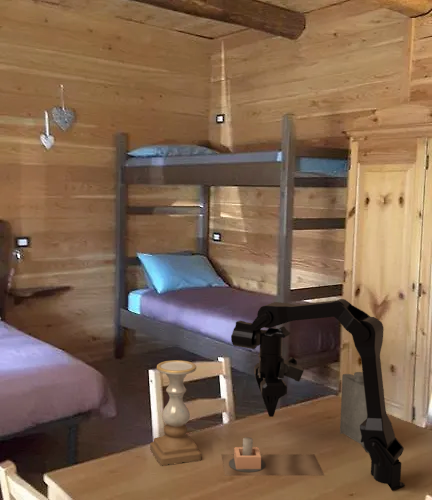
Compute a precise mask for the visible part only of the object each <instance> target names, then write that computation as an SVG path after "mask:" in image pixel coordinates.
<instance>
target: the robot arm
mask: <svg viewBox="0 0 432 500" xmlns="http://www.w3.org/2000/svg"><path fill="white" fill-rule="evenodd" d="M256 314H257V316H256V318H255V319H253V321H252V322H247V321H244V320H238V321H237V320H236V322H235V326H234V328H233V330H232V332H231V333H232V334H231V337H230V341H231V344H232V345H233V346H234V347H239V348H245V349H250V350H251V349H252V350H255V349H257V347H259V352H258V360H259V361H258V363H256V364H255V365H254V367H253V369H254V370H253V373H254V378H255V380H256V383H257V386H258V389H259V392H260V394H261V397H262V400H263V403H264V405H265V409H266V411H267V413H268V417H270V418H271V417H272V418H273V417H274V415H275V412H276V409H277V406H278V402H279V400H280V398H282V397H284V396H286V395H287V394H288V385H287V384H286V382H285V381H284V380H283V379H284V378H285V377H287V378H290V379H292V380H294V381H295V382H300V381H301V378H302V377H303V375H304V374H303V373H304V371H305V370H304V368H303V366H301V365H300V364H297V363H298V361H297V359H296V358H295V357H292V356H289V358H288V359H284V357H283V355H282V352H283V339H284V338H285V339H286V338H287V337H289V336H291V332H290V331H289V330H287V329H286V327H285V326H284V324H287V323H289V322H293V321H294V322H295V321H303V320H304V321H305V320H314V319H327V318H335V319H336V320H337V322H339V323H340V325H341V326H342V327H343V328H344V330H345V331H347V332H348V333H349V334H351V337H352V340H353V343H354V347H355V349H356V351H357V353H358V355H359V357H360V361H361V369H362V370H361V372H363V381H364V390H365V400H366V409H367V419H366V420H365V421H364V422H363V423H362V424H361V425H360V431H361V436H362V437H361V443H362V442H364V447H365V449H366V450H367V451H368V452H369V453H368V454H369V457H370V461H371V462H370V463H371V464H370V475H371V476H372V477H373V479H374V480H375V481H376V482H378V483H381V484H384V485H385V484H386V485H388V487H389V489H390V490H391V491H395V490H397V489H401V488H403V487H405V485H406V484H405V483H404V482H402V481H401V476H402V462H401V461H400V460H399V458H400V457H401V456H402V455H403V452H404V451H405V447H404V446H403V445H402V444H401V443H400V441H399V440H398V439H397V438H396V434H395V431H394V428H393V423H392V422H391V420H390V418H389V416H388V414H387V409H386V400H385V392H384V391H385V390H384V380H383V374H382V373H383V372H382V364H381V352H382V347H383V341H384V330H385V329H384V325H383V323H382V321H381V320H379V318H378V317H377V318H376V317H374V316H370V315H369V314H368V313H367V312H365V311H364V310H362V309H360V308H358V307H357V306H354V305H353V304H352V303H351V302H349V301H348V300H347V299H344V298H339V299H336V300H326V301H318V302H308V303H300V304H294V303H293V304H292V303H288V302H280V301H273V302H270V303H268V304H265V305H262V306H260V308H259V309H258V311H257V313H256ZM280 325H283V326H281V327H279V328H276V327H277V326H280ZM264 328H266V329H264Z"/></svg>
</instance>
